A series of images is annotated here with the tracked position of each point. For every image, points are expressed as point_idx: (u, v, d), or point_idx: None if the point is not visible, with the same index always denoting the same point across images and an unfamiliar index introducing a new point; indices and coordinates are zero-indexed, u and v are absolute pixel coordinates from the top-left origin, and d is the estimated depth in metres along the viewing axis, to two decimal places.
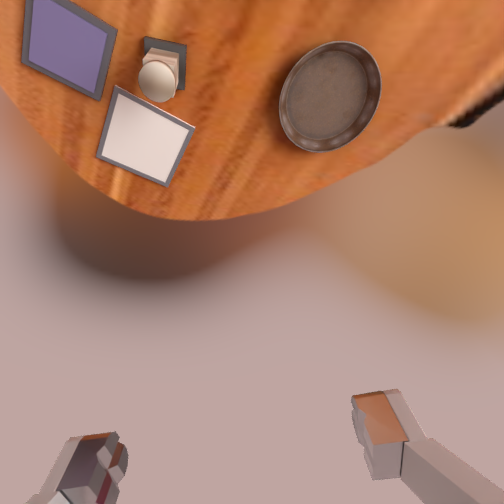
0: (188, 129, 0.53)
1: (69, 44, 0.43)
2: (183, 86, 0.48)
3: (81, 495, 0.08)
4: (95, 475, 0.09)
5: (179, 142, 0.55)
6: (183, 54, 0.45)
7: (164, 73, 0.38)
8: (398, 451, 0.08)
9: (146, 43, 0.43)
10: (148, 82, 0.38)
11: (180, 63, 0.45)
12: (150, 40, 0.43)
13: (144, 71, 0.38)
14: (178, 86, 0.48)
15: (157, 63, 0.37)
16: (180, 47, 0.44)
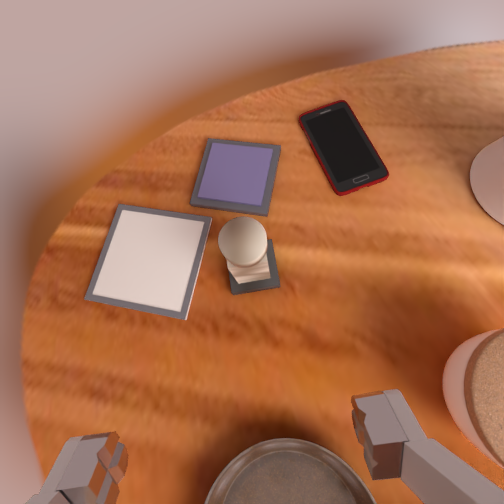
0: (181, 310, 0.37)
1: (239, 174, 0.41)
2: (235, 291, 0.36)
3: (81, 495, 0.08)
4: (95, 475, 0.09)
5: (159, 302, 0.37)
6: (271, 283, 0.36)
7: (257, 246, 0.27)
8: (398, 452, 0.08)
9: (267, 242, 0.37)
10: (240, 229, 0.28)
11: (260, 282, 0.36)
12: (271, 245, 0.37)
13: (251, 222, 0.28)
14: (233, 285, 0.36)
15: (266, 236, 0.28)
16: (277, 278, 0.36)
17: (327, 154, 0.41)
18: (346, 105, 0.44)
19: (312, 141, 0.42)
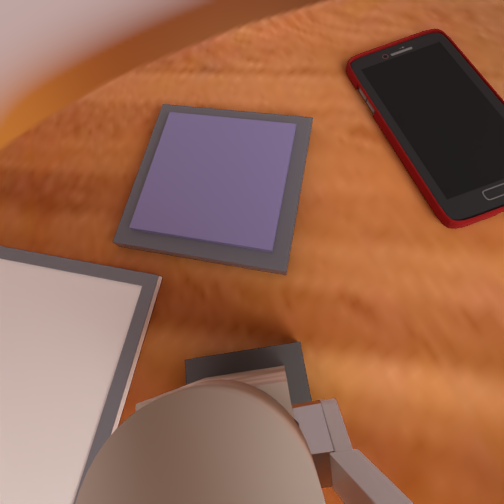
0: None
1: (222, 177, 0.19)
2: None
3: None
4: None
5: (15, 502, 0.15)
6: None
7: None
8: (326, 462, 0.08)
9: (289, 349, 0.15)
10: (188, 465, 0.05)
11: None
12: (300, 360, 0.15)
13: (247, 430, 0.05)
14: None
15: None
16: None
17: (415, 136, 0.19)
18: (444, 38, 0.21)
19: (379, 109, 0.20)
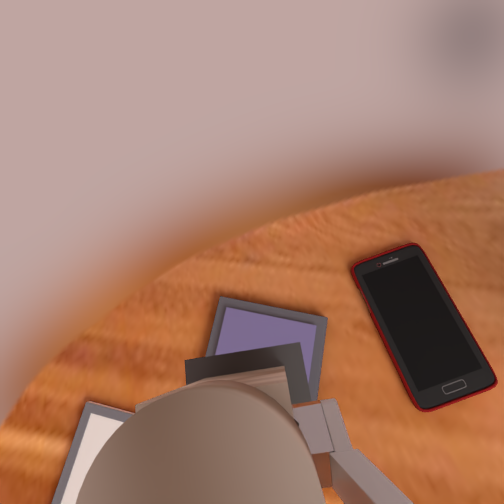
0: None
1: None
2: None
3: None
4: None
5: None
6: None
7: None
8: (326, 462, 0.08)
9: (289, 350, 0.15)
10: (188, 467, 0.05)
11: None
12: (301, 360, 0.15)
13: (247, 431, 0.05)
14: None
15: None
16: None
17: (398, 337, 0.28)
18: (421, 252, 0.30)
19: (374, 312, 0.29)
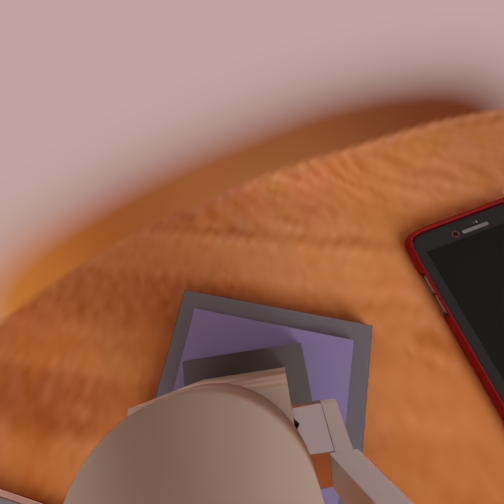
0: None
1: None
2: None
3: None
4: None
5: None
6: None
7: None
8: (326, 462, 0.08)
9: (289, 351, 0.14)
10: (180, 477, 0.05)
11: None
12: (302, 362, 0.14)
13: (243, 440, 0.05)
14: None
15: None
16: None
17: None
18: None
19: (455, 315, 0.16)
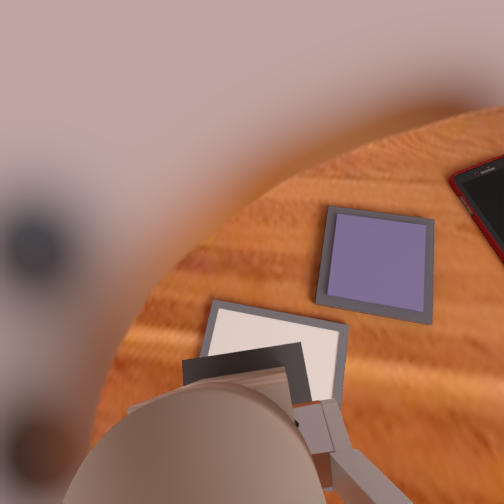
0: None
1: (382, 262, 0.30)
2: None
3: None
4: None
5: None
6: None
7: None
8: (326, 462, 0.08)
9: (289, 350, 0.14)
10: (180, 476, 0.05)
11: None
12: (301, 361, 0.14)
13: (244, 438, 0.05)
14: None
15: None
16: None
17: (503, 234, 0.30)
18: None
19: (477, 214, 0.31)
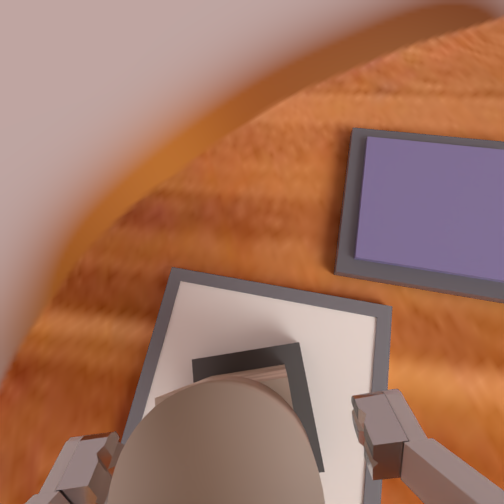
0: None
1: (444, 206, 0.18)
2: None
3: (81, 495, 0.08)
4: (95, 475, 0.09)
5: None
6: None
7: None
8: (398, 452, 0.08)
9: (289, 349, 0.16)
10: (205, 446, 0.06)
11: None
12: (300, 359, 0.16)
13: (254, 417, 0.07)
14: None
15: None
16: (317, 453, 0.14)
17: None
18: None
19: None
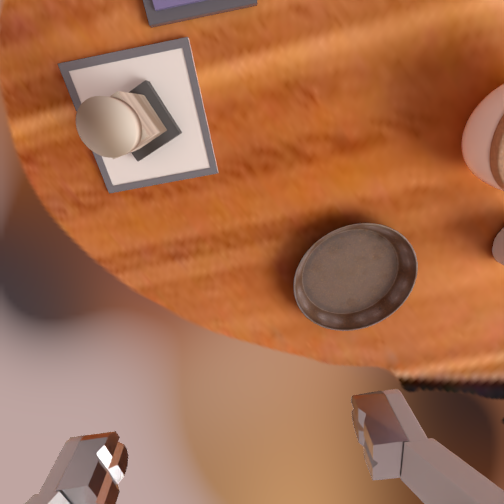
0: (210, 166, 0.36)
1: None
2: (140, 158, 0.34)
3: (81, 495, 0.08)
4: (95, 475, 0.09)
5: (184, 166, 0.36)
6: (170, 135, 0.33)
7: (126, 130, 0.24)
8: (398, 452, 0.08)
9: (142, 86, 0.31)
10: (96, 116, 0.23)
11: (159, 138, 0.33)
12: (149, 89, 0.31)
13: (103, 102, 0.23)
14: (135, 152, 0.33)
15: (130, 113, 0.24)
16: (174, 127, 0.32)
17: None
18: None
19: None
